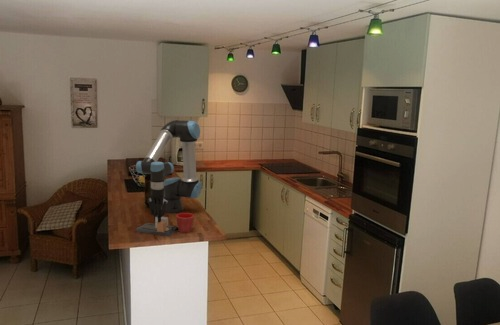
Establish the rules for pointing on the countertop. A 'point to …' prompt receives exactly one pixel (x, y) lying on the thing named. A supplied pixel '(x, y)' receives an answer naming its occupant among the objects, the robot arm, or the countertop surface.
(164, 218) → the fader
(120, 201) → the countertop surface
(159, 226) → the fader
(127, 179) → the countertop surface
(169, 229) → the console
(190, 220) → the flower pot
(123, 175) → the countertop surface
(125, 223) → the countertop surface
